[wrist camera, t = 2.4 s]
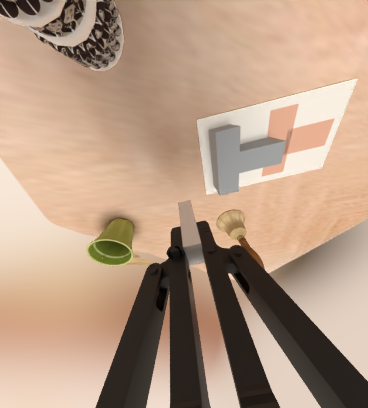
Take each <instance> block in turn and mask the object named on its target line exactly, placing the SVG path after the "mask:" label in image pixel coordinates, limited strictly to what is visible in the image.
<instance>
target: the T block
mask: <svg viewBox="0 0 368 408" xmlns="http://www.w3.org/2000/svg"><path fill="white" fill-rule="evenodd" d="M240 127H241V126H238V125H231V124H229V125H225V126H221V127H217V128H213V129H209V140H210V151H211V161H212V172H213V183H214V187H215V189H216V190H217V192H218V194H219V195H224V194H228V193H233V192H237V191H239V173H243V172H247V171H251V170H255V169H260V168H264V167H268V166H272V165H277V164H281V162H282V157H283V153H284V148H285V143H286V141H285V140H281V139H276V138H272V137H268V138H264V139H260V140H256V141H251V142H247V143H243V144H240Z"/></svg>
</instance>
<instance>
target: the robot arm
mask: <svg viewBox="0 0 368 408" xmlns="http://www.w3.org/2000/svg"><path fill="white" fill-rule="evenodd" d="M178 206H179V215H180V224H181V226H180V227H176V228H172V231H171V247H169V249H168V250H167V255H168V257H169V258H168V260H166V261H165V262H163V263H161V264H159V263H153V264H151V265H150V266H149V267H148V268H147V270H146V272H145V275H144V278H143V280H142V283H141V286H140V289H139V291H138V294H137V297H136V300H135V302H134V305H133V307H132V310H131V313H130V316H129V318H128V321H127V324H126V326H125V329H124V332H123V335H122V337H121V340H120V343H119V346H118V348H117V351H116V354H115V356H114V359H113V362H112V365H111V367H110V370H109V373H108V375H107V378H106V381H105V383H104V386H103V389H102V391H101V394H100V397H99V400H98V402H97V405H96V408H146V404H147V399H148V394H149V389H150V384H151V380H152V374H153V369H154V365H155V359H156V355H157V349H158V344H159V339H160V335H161V330H162V325H163V320H164V315H165V310H166V305H167V300H168V295H169V290H170V408H211V407H210V403H209V398H208V391H207V384H206V377H205V370H204V364H203V356H202V349H201V342H200V335H199V328H198V321H197V314H196V308H195V300H194V293H193V286H192V279H191V272H190V269H189V266H190V265H195V264H200V263H204V262H205V264H206V269H207V273H208V277H209V281H210V285H211V289H212V293H213V297H214V301H215V305H216V310H217V313H218V318H219V322H220V326H221V330H222V334H223V338H224V343H225V347H226V351H227V354H228V359H229V363H230V367H231V371H232V375H233V379H234V383H235V388H236V391H237V396H238V400H239V404H240V408H280V406H279V404H278V402H277V400H276V398H275V396H274V394H273V392H272V390H271V388H270V385H269V382H268V380H267V377H266V374H265V372H264V369H263V366H262V364H261V361H260V358H259V356H258V353H257V350H256V348H255V345H254V343H253V340H252V337H251V334H250V332H249V329H248V327H247V324H246V321H245V318H244V315H243V313H242V310H241V307H240V305H239V302H238V300H237V297H236V294H235V291H234V289H233V286H232V283H231V281H230V278H229V275H228V273H231V274H232V276H233V277H234V279H235V280H236V282H237V283H238V285H239V286H240V287H241V289H242V291H243V292H244V293H245V295H246V296H247V298H248V299H249V301H250V302H251V304H252V305H253V307H254V308H255V310H256V311H257V313H258V314H259V316H260V317H261V319H262V320H263V322H264V323H265V324H266V326H267V328H268V329H269V331H270V332H271V334H272V335H273V337H274V338H275V340H276V341H277V343H278V344H279V346H280V347H281V349H282V350H283V352H284V353H285V354H286V356H287V357H288V359H289V360H290V362H291V363H292V365H293V366H294V368H295V369H296V371H297V372H298V374H299V375H300V377H301V378H302V380H303V381H304V383H305V384H306V385H307V387H308V389H309V390H310V391H311V393H312V394H313V396H314V398H315V399H316V401H317V402H318V404H319V405H320V406H321V408H368V381H367V380H366V379H365V378H364V377H363V376H362V375H361V374H360V373H359V372H358V371H357V369H356V368H355V367H354V366H353V365H352V364H351V363H350V362H349V361H348V360H347V359H346V357H345V356H344V355H343V354H342V353H341V352H340V351H339V350H338V349H337V348H336V347H335V346H334V344H332V342H331V341H330V340H329V339H328V338H327V337H326V336H325V335H324V334H323V333H322V331H321V330H320V329H319V328H318V327H317V326H316V325H315V324H314V323H313V322H312V321H311V320H310V318H309V317H308V316H307V315H306V314H305V313H304V312H303V311H302V310H301V309H300V308H299V307H298V306H297V304H296V303H294V301H293V300H292V299H291V298H290V297H289V296H288V295H287V294H286V293H285V291H284V290H283V289H282V288H281V287H280V286H279V285H278V284H277V283H276V282H275V281H274V280H273V278H272V277H271V276H270V275H269V274H268V273H267V272H266V271H265V270H264V269H263V268H262V266H261V265H260V264H259V263H258V262H257V261H256V260H255V259H254V258H253V257H252V256H251V255H250V253H249V252H248V251H247V250H246V249H245V248H244V247H242V246H239V245H234V246H232V247H230V249H228V248H221V247H219V246H218V245H217V244H216V243H215V240H214V238H213V235H212V232H211V230H210V227H209V224H208V223H207V222H206V221H201V222H196V221H195V217H194V213H193V209H192V205H191V201H190V200H188V201H184V202H180V203H178Z"/></svg>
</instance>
